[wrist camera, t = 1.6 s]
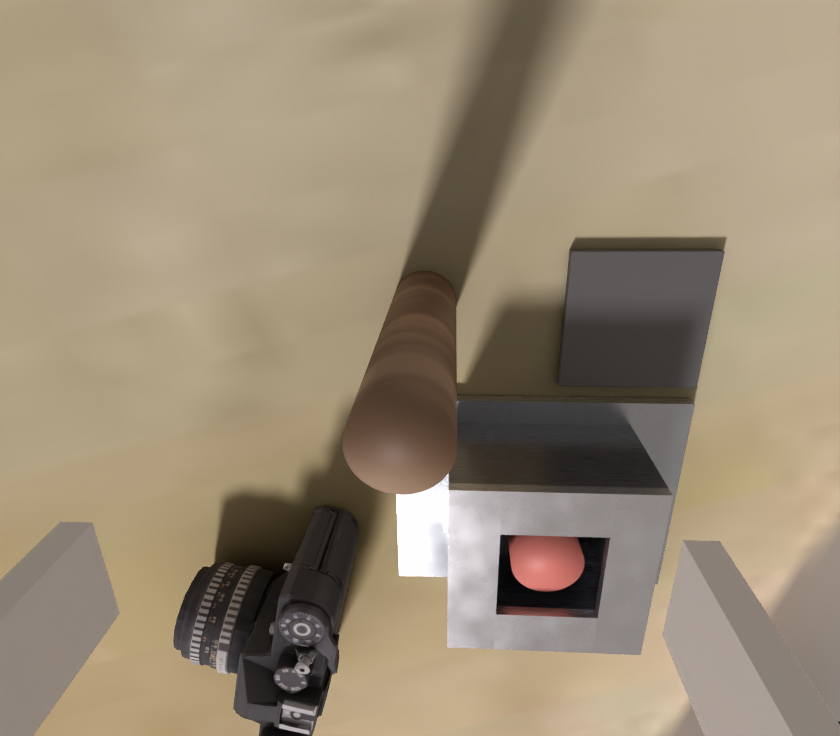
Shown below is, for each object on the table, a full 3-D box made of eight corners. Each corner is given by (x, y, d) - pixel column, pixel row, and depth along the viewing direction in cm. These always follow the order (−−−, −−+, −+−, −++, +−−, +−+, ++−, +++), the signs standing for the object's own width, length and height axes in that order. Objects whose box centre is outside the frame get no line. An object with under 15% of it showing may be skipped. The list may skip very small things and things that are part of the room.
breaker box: (394, 394, 34) (378, 463, 27) (689, 398, 33) (753, 471, 26) (400, 567, 40) (388, 662, 33) (653, 575, 39) (698, 676, 32)
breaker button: (506, 490, 33) (513, 534, 30) (573, 491, 33) (588, 536, 29) (503, 542, 35) (509, 590, 31) (567, 544, 35) (580, 592, 31)
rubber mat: (569, 249, 30) (571, 251, 30) (719, 249, 30) (724, 251, 29) (557, 381, 33) (558, 385, 33) (692, 383, 33) (696, 387, 32)
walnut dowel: (393, 271, 31) (338, 394, 17) (456, 271, 31) (457, 396, 16) (395, 330, 33) (346, 493, 18) (455, 331, 32) (456, 496, 18)
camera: (215, 481, 38) (140, 592, 29) (370, 511, 38) (344, 630, 29) (209, 627, 44) (144, 758, 34) (343, 652, 44) (314, 789, 35)
